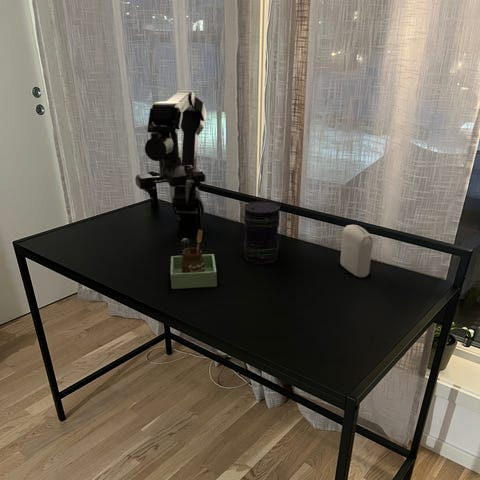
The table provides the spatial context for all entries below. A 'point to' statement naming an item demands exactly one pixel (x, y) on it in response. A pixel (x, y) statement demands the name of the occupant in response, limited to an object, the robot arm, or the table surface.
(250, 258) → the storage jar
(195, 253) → the utensil holder
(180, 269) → the tray
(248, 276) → the table surface
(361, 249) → the photo printer
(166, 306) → the table surface
